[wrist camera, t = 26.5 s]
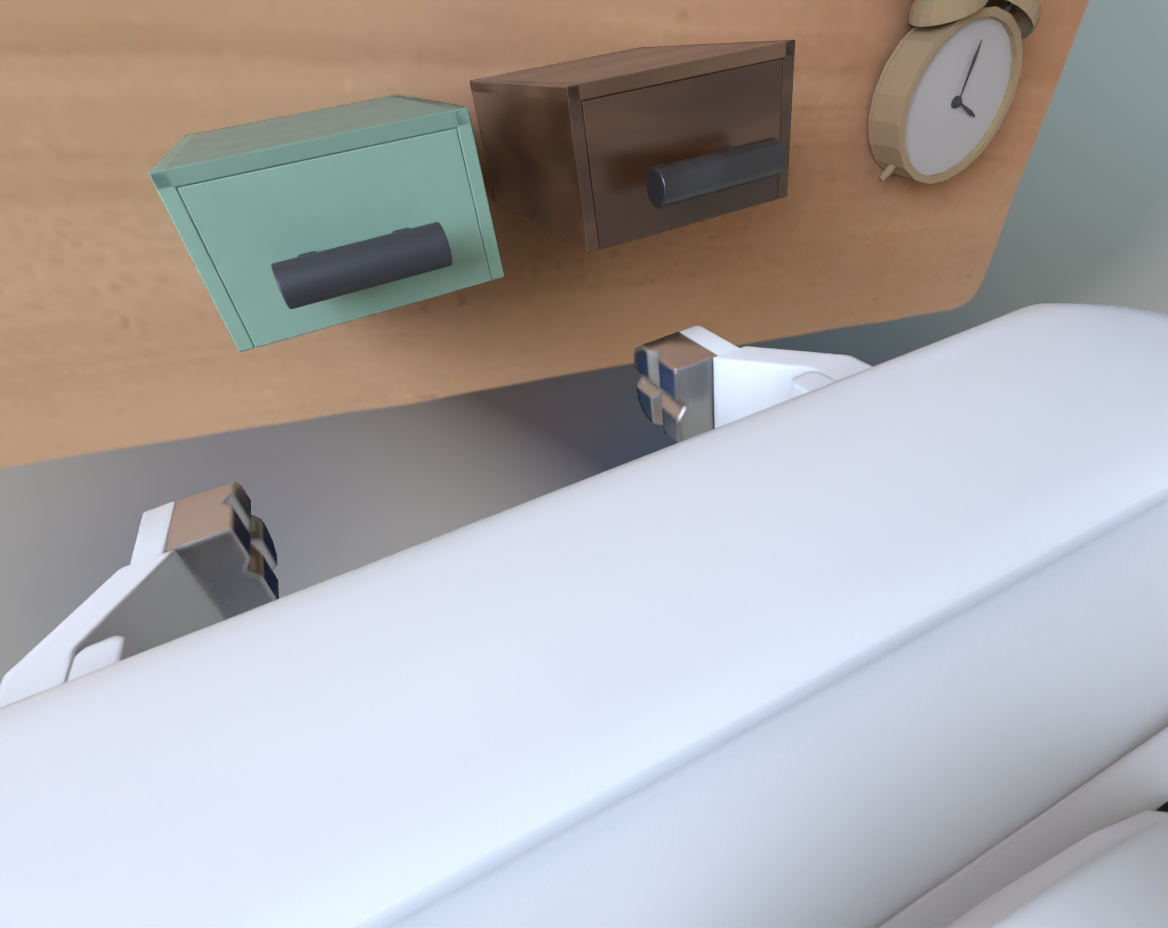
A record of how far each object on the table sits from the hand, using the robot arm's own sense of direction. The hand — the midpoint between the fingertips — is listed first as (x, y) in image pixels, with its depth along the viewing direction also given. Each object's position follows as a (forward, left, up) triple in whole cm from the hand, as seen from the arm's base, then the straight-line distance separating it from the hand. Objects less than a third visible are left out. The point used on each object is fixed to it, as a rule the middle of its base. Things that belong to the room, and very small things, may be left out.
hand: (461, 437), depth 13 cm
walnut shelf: (-4, +15, -21) cm, 26 cm away
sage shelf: (-4, 0, -21) cm, 21 cm away
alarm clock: (+1, +45, -29) cm, 54 cm away
